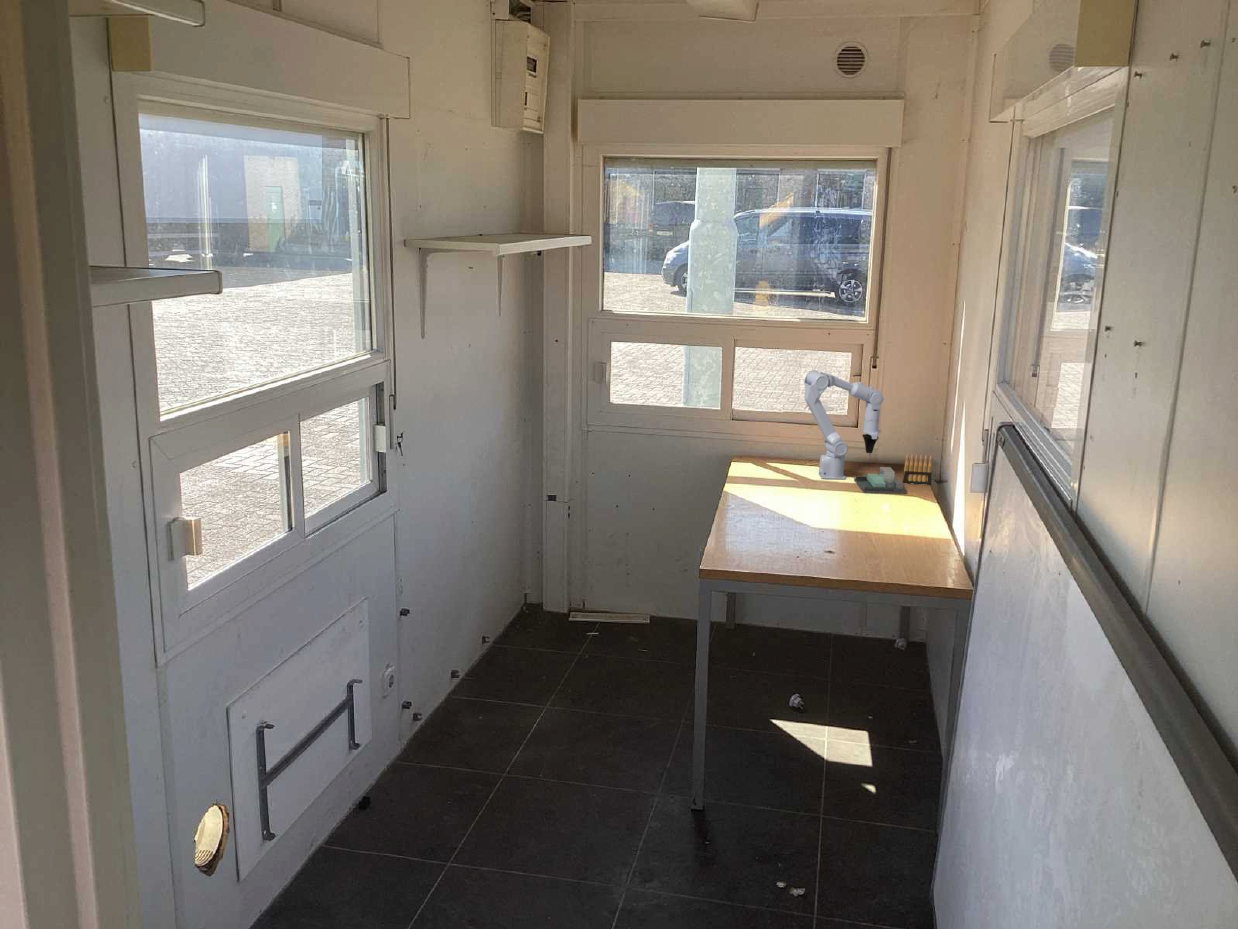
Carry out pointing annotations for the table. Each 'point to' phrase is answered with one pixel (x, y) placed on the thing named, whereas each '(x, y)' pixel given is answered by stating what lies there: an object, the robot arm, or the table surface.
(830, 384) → the robot arm
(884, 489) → the vise bed
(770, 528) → the table surface
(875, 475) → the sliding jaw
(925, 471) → the ammunition clip
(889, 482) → the steel block
